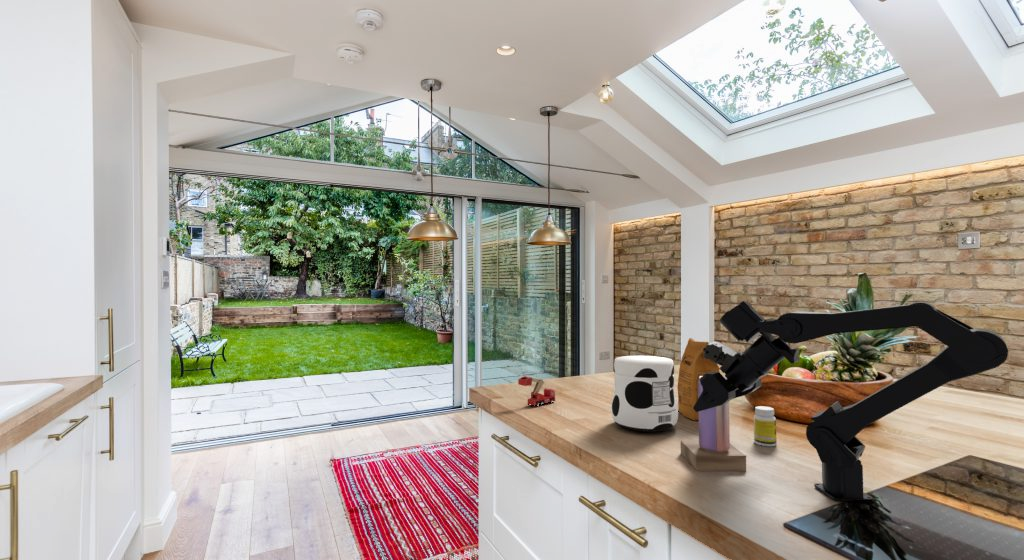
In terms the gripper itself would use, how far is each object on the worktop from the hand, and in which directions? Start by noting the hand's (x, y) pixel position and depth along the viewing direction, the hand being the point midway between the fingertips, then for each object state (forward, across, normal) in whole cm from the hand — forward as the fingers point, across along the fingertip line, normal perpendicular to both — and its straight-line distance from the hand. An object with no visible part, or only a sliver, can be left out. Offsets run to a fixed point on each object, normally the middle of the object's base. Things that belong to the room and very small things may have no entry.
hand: (704, 406), depth 104 cm
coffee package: (+20, -34, -4) cm, 39 cm away
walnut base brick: (+7, 0, +9) cm, 12 cm away
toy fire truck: (+50, -11, -34) cm, 61 cm away
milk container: (+24, -13, -8) cm, 29 cm away
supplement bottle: (+5, -20, +12) cm, 24 cm away
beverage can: (+5, +1, +8) cm, 9 cm away
